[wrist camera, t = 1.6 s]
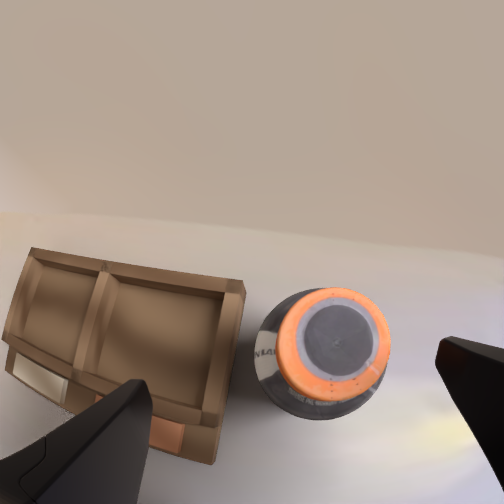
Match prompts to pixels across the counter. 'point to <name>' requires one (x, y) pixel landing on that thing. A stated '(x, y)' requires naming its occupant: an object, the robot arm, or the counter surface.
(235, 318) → the socket frame
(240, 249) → the counter surface
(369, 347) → the pill bottle
